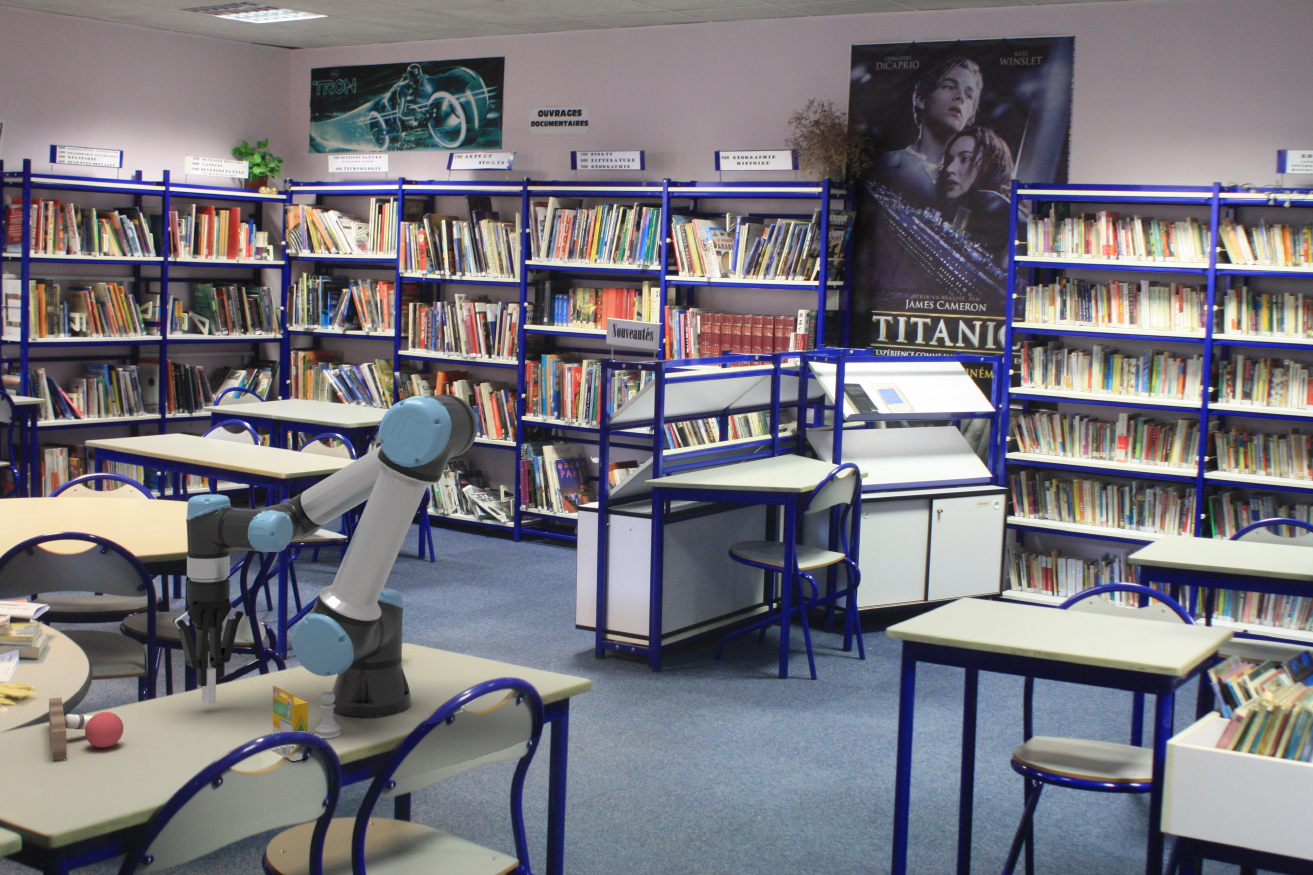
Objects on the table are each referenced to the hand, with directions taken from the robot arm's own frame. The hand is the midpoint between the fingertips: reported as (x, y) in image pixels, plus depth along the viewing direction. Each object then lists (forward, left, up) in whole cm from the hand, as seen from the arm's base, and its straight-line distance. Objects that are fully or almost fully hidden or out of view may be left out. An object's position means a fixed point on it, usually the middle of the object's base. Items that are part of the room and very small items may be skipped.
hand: (208, 701), depth 230 cm
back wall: (0, +27, -2) cm, 27 cm away
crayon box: (-31, 0, -2) cm, 31 cm away
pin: (0, +17, -1) cm, 17 cm away
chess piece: (-26, -10, -2) cm, 28 cm away
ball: (-7, +22, +1) cm, 23 cm away
